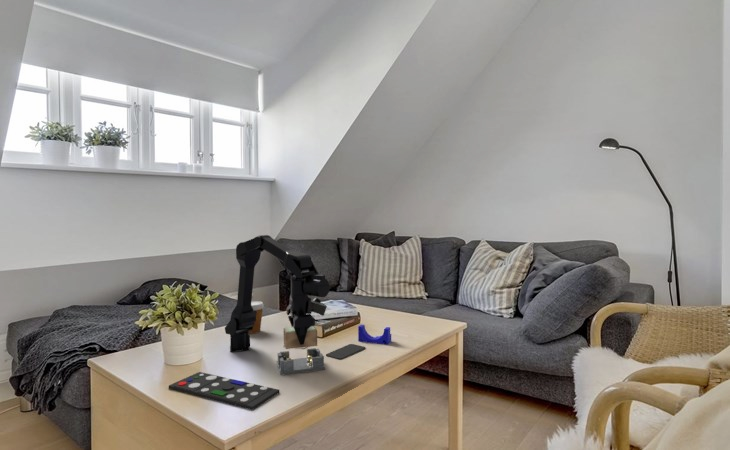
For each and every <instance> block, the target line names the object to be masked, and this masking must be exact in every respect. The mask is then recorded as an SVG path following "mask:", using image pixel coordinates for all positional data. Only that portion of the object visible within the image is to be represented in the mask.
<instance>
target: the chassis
mask: <svg viewBox="0 0 730 450" xmlns="http://www.w3.org/2000/svg"><path fill="white" fill-rule="evenodd" d="M276 366H277V369H278V371H279V375H280V376H285V375H293V374H301V373H308V372H317V371H318V372H319V371H325V370H326V366H325V356H324V355H323V353H321V350H320V349H319V348H316V347H313V348H312V347H311V348H307V349H306V357H300V358H292V357H290V351H289V350H286V351H284V350H283V351H279V352H277V360H276Z"/></svg>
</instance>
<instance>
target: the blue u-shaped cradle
mask: <svg viewBox="0 0 730 450" xmlns="http://www.w3.org/2000/svg"><path fill="white" fill-rule="evenodd" d="M357 330H358V331H357V332H358V333H357V335H358V336H357V339H358V342H361V343H370V344H378V345H389V344H391V342H392V333H391V327H389V326H386V327H384V329H383V334H382V335H378V336H377V335H376V336H375V337H374V336H372V335H370V334H369V333H368V332H367V330H366V327H365V324H359V325H358V328H357Z"/></svg>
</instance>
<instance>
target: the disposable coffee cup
mask: <svg viewBox="0 0 730 450" xmlns="http://www.w3.org/2000/svg"><path fill="white" fill-rule="evenodd" d="M251 306H252V308H253V310H255V311H256V312H257V313H256V321H255V324H254V326H253V330H251V331H248V334H250V335H252V334H253V335H254V334H258V333H260V332H261V328H262V319H263V318H262V317H263V309H264V307H265V305H264V303H263V301H260V300H252V301H251Z"/></svg>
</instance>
